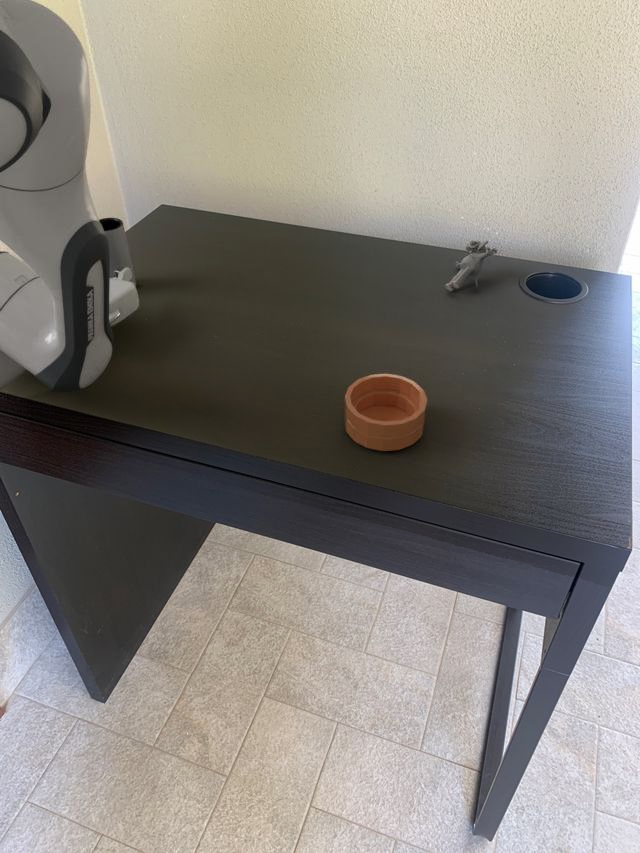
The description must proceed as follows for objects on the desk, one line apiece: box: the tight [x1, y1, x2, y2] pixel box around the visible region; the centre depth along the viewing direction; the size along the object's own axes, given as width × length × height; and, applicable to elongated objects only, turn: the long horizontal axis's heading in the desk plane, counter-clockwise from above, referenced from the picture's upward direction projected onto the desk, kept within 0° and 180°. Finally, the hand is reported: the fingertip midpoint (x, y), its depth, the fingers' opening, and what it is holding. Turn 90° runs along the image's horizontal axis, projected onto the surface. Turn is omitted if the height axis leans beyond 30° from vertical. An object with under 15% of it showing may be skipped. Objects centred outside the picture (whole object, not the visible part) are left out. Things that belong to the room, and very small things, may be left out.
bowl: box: [343, 373, 428, 452], centre depth 79 cm, size 9×9×4 cm
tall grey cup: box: [99, 217, 137, 288], centre depth 103 cm, size 4×4×10 cm
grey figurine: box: [444, 240, 498, 293], centre depth 104 cm, size 10×6×9 cm
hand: (99, 266), depth 99 cm, fingers open, 8 cm apart
